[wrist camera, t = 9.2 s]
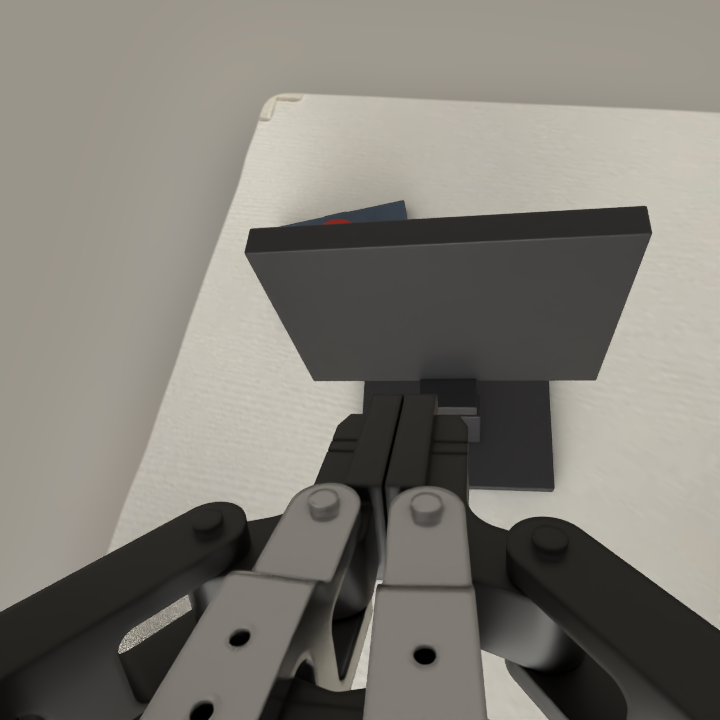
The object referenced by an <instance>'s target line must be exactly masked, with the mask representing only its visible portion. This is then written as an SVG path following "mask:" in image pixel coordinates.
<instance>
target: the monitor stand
mask: <svg viewBox="0 0 720 720" xmlns="http://www.w3.org/2000/svg"><path fill="white" fill-rule="evenodd" d="M419 389H420V381H365V385H364V402H363V414H366V413H367V410H368V407H369V404H370V401H371V398H372V395H373V394H404V396H405V395H406V394H419ZM459 416H460V417H461V418H462V420H463V421H464V422H465V424H466V425H467V426H468V450H469V489H483V490H512V491H542V492H552V491H553V490H554V470H553V452H552V433H551V415H550V396H549V380H531V381H477V415H459Z"/></svg>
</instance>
